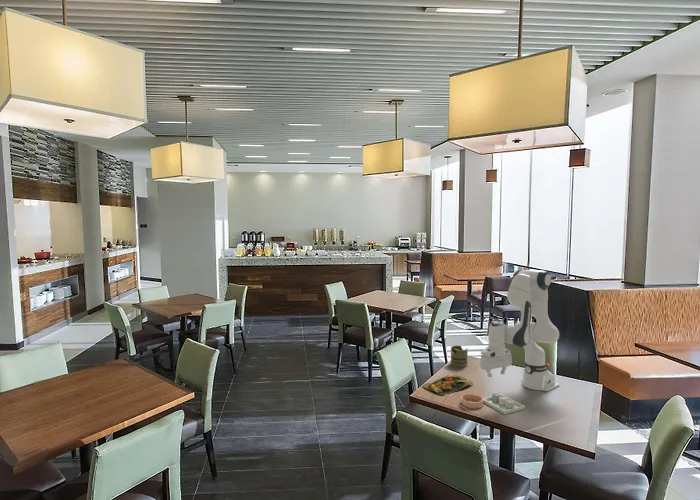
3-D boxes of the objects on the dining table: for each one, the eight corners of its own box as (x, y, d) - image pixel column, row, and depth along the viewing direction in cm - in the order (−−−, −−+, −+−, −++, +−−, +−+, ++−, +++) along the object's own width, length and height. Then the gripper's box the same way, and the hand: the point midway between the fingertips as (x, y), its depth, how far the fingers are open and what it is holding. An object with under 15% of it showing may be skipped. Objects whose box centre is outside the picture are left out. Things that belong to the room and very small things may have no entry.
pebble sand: (502, 402, 224) (502, 396, 224) (508, 405, 220) (508, 399, 220) (497, 404, 222) (497, 397, 222) (502, 407, 219) (503, 400, 218)
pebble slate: (495, 399, 228) (496, 392, 228) (501, 402, 225) (501, 395, 225) (490, 400, 227) (490, 394, 227) (495, 403, 223) (496, 396, 223)
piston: (459, 351, 278) (447, 347, 288) (459, 368, 279) (447, 363, 289) (471, 348, 284) (458, 344, 294) (470, 365, 285) (458, 360, 295)
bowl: (472, 398, 231) (472, 392, 231) (487, 406, 221) (487, 400, 221) (456, 402, 226) (456, 396, 226) (471, 410, 216) (471, 404, 216)
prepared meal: (444, 391, 233) (421, 381, 248) (443, 397, 233) (420, 387, 248) (474, 381, 250) (451, 372, 264) (474, 387, 250) (451, 378, 264)
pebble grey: (509, 406, 219) (510, 399, 219) (515, 409, 216) (515, 402, 216) (504, 408, 218) (504, 401, 218) (510, 411, 214) (510, 404, 214)
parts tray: (500, 397, 232) (500, 394, 232) (524, 409, 217) (524, 405, 217) (481, 402, 226) (481, 398, 226) (505, 415, 211) (505, 411, 211)
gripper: (506, 346, 231) (505, 370, 232) (478, 351, 223) (478, 376, 223) (514, 349, 226) (514, 374, 226) (486, 354, 217) (486, 380, 218)
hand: (496, 375), depth 225 cm, fingers open, 8 cm apart
